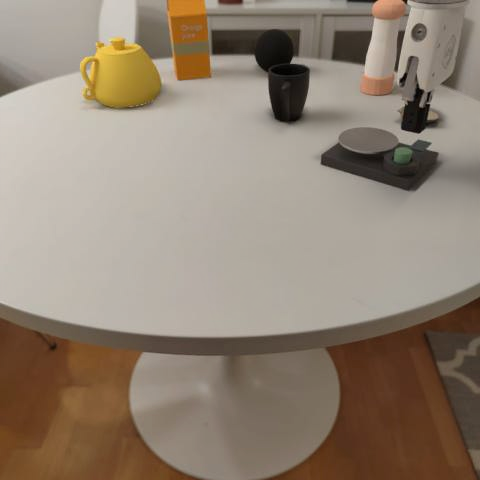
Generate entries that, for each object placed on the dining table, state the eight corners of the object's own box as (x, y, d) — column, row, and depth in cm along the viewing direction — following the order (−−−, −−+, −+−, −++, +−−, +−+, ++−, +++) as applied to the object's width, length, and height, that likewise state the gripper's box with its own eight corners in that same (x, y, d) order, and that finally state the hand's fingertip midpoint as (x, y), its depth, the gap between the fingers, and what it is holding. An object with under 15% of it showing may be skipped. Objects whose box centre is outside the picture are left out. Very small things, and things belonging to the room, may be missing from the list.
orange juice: (211, 77, 118) (205, -15, 105) (177, 80, 117) (166, -12, 104) (206, 68, 124) (199, -20, 111) (174, 71, 123) (163, -17, 109)
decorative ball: (295, 67, 122) (297, 25, 116) (289, 79, 115) (291, 35, 108) (258, 66, 124) (258, 24, 117) (251, 77, 117) (250, 34, 110)
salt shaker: (397, 88, 107) (415, -7, 95) (382, 97, 103) (399, -2, 91) (369, 82, 111) (383, -10, 98) (354, 91, 107) (366, -5, 94)
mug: (262, 131, 91) (262, 81, 85) (271, 109, 100) (271, 62, 94) (303, 133, 90) (306, 83, 84) (308, 110, 99) (311, 63, 92)
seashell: (439, 133, 92) (421, 110, 96) (447, 120, 90) (428, 97, 94) (404, 132, 89) (387, 109, 94) (412, 119, 87) (394, 95, 91)
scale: (436, 162, 79) (441, 143, 77) (407, 191, 72) (412, 171, 70) (353, 140, 87) (355, 122, 84) (320, 164, 80) (322, 145, 77)
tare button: (412, 160, 73) (415, 149, 72) (406, 166, 72) (408, 155, 71) (397, 155, 75) (399, 145, 73) (390, 161, 73) (392, 151, 72)
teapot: (176, 98, 107) (168, 38, 99) (101, 119, 99) (86, 55, 90) (136, 78, 119) (126, 23, 111) (67, 95, 111) (51, 37, 103)
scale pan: (431, 143, 77) (432, 141, 76) (407, 166, 71) (407, 164, 71) (355, 125, 84) (355, 122, 83) (327, 144, 78) (327, 142, 78)
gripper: (448, 3, 52) (416, 154, 64) (490, -20, 60) (454, 118, 72) (386, -1, 55) (367, 142, 68) (433, -22, 64) (409, 109, 76)
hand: (412, 129), depth 70 cm, fingers closed
